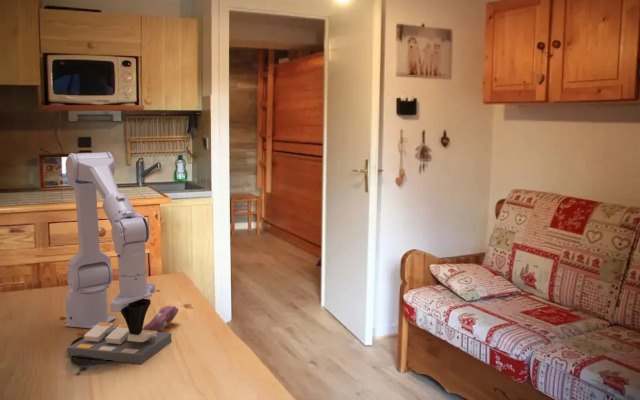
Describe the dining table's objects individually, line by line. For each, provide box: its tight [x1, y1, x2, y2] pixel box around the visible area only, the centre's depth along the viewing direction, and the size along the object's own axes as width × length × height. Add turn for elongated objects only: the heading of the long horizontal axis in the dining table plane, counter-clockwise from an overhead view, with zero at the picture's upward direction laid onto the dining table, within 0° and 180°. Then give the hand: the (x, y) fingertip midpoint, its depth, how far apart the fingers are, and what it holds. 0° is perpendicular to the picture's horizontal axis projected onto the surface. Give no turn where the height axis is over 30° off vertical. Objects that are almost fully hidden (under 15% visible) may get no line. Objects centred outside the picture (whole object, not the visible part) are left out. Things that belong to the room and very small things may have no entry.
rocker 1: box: [83, 322, 115, 342], centre depth 130 cm, size 4×6×1 cm, turn 166°
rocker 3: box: [127, 330, 158, 342], centre depth 127 cm, size 4×6×1 cm, turn 166°
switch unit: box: [66, 327, 172, 365], centre depth 129 cm, size 18×13×4 cm
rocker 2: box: [105, 323, 130, 344], centre depth 129 cm, size 4×6×1 cm, turn 166°
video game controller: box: [142, 304, 179, 332], centre depth 141 cm, size 10×5×7 cm, turn 169°
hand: (135, 333), depth 125 cm, fingers closed
